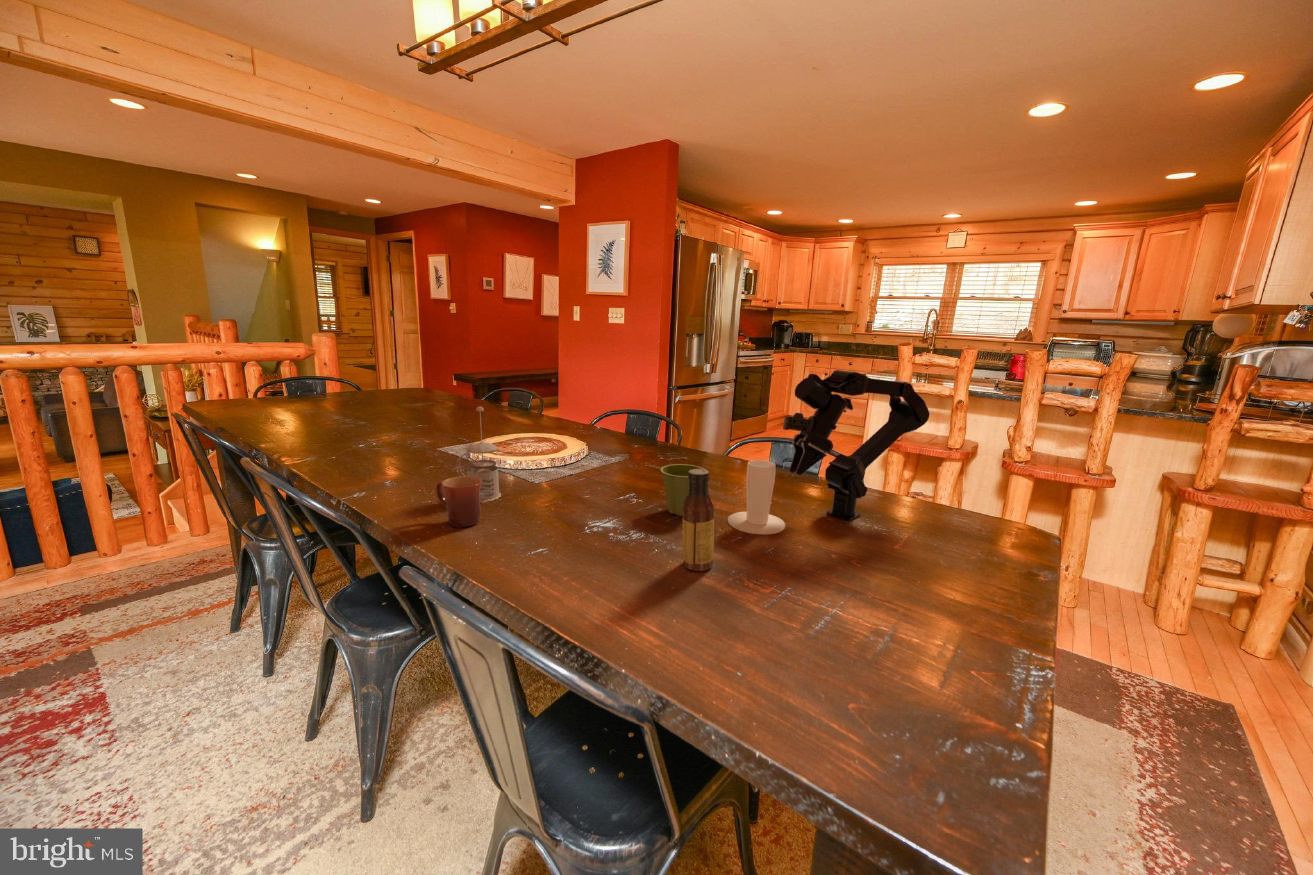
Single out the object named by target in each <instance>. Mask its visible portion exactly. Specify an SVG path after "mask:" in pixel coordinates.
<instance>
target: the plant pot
mask: <svg viewBox="0 0 1313 875" xmlns="http://www.w3.org/2000/svg"><path fill="white" fill-rule="evenodd" d="M692 469H704V470H706V469H705V468H704V467H702V466H697V465H693V464H685V463H684V464H683V463H676V464H675V463H674V464H668V465H664V466H661V468H660V472H661V473H662V478H663V481H664V487H665V488H664V489H665V496H666V497H665V498H666V506H667V511H668V513H669V514H671V515H673V514H675V515H677V516H679V517H683V502H684V500H685V498H686V497H687V495H688V494H689V478H688V472H689V470H692Z"/></svg>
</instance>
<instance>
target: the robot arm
mask: <svg viewBox="0 0 1313 875" xmlns="http://www.w3.org/2000/svg"><path fill="white" fill-rule="evenodd" d="M864 394H877V395H886V396H889V401H888V402H889V403H888V405H889V407H890V409H891V410H890V411H889V414H888V421H886V422H885V424H883V425H882V426H881V427H880V428H879V429H878V430H877V431H876V432H874V433H873V434H872V435H871V436H870V437H869V438H868V439H867V440H866V441H864V442H863V443H862V444H861V445H860V446H859V447H858V448H857V449H856V450H855V451H854V452H852V453H851V454H850V455H846V454H843V453H839V454H838V455H836V457H835V458H834V459H833V460H832V461H829V462H828V464H829V465H828V466H827V467H826V468H825V474H824V475H825V477H824V478H825V480H826V484H827V489H830V490H833V491H834V492H833V501H832V508H831V509H829V510H826V514H827V515H829V516H830V515H831V516H834V517H837V518H840V519H843V520H847V521H851V520H853V519H856V518H858V517H860V516H861V512H858V511H856V510H857V502H858V499H861V498H862V497H865V496H866V495H867V492H868V487H867V486H866V484H865V483H864V482H863V480H864V479H865V475H866V470H867V468H868V467H869V466H870V465H872V464H873V463H874V461H875V460H877V459H878V458H879V457H881V455H883V453H885V451H887V449H889V448H890V447H891V446H892V445H893V444H894V443H895V442H897V440H898V439H899V438H900V437H902V436H903V435H904V434H907V433H911V432H913V431H917V430H918V429H920V428H921V427H922V426H924V425H926V423H927V422H928V421H929V419H930V411H929V408H928V407H927V403H926V401H925V400H924V399H923V398H922V397H921V396H920V395H919V394H918V393H917V392H916V391H915V389H914V386H913V385H912V384H911V383H910V382H908V381H904V380H903V381H901V380H896V379H895V380H888V379H887V380H886V379H881V378H880V379H879V378H871V377H868V375H865V374H863V373H860V372H858V371H852V370H851V371H849V370H845V369H844V370H842V369H835V370H834V371H833V372H832V373H831V375H829V376H827V377H826V378H823V379H821V377H820V376H819V375H817V374H816V373H809V375H808V376H807V377H805V378H803V379H802V380H801V381H800V382H799V383H797V385H796V386H795V389H794V396H795V397H796V398H797V399H798V400H800V401H801V402H803V404H804V403H805V404H806V405H807V406H809V407H810V408H812V409H813V410H815V411H814V413H813V415H811V416H810V415H809V417H808V418H804V413H801V412H795V413H794V414H793V415H786V416H784V419H783V425H782V426H783V427H782V430H785V431H789V430H790V431H795V432H796V431H797V432H799V433H797V434H794V436H793V438H792V439H791V445H792V447H793V450H794V452H793V456H792V459H791V462H790V463H791V464H790V466H789V472H790V473H791V474H792V473H793V474H794V473H795V474H796V475H798V476H801V475H802V474H803V473H805V472H806V471H808V470H809V469H810V468H811V467H813V466H815V464H817V463H818V462H819V461H821V460H822V459H824V458H825V457H827V455H829V454H831V452H832V450H833V448H834V444H833V441H832V440H830V439H829V438H830V436H831V434H832V432H833V431H835V430H836V429H837V427H838V426H837V423H838V421H840V418H841V417H842V415H843V414H844V413H843V412H844V411H845V409H846V410H848V411H849V410H850V411H853V410H854V406H853V404H852V399H851V398H848V397H842V396H841V395H846V396H851V397H856V396H863V395H864ZM901 398H902V399H903V400H902V399H901Z"/></svg>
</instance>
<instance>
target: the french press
mask: <svg viewBox="0 0 1313 875" xmlns="http://www.w3.org/2000/svg"><path fill="white" fill-rule="evenodd" d="M475 411H476V412H479V421H480V422H479V423H480V424H479V425H480V426H479V427H480V428H482V415H481V414H482V413H481V412H484V407H483V406H477V407H476V409H475ZM482 430H483V429H480V442H475V443H473V444H471V445H468V446H467V447H466V448H465V451H466V452H465V453H463V454H462V455H460V456H459V457H458V459H457V461H456V463H455V464H456V471H457V474H458V475H459V477H461V476H466V475H465V474H464V473H463V471H462V469H461V460H462V458H463V457H464V456H466V459H467V460H468V459H470V454H478V455H479V454H481V459H476V460H473V461H469V462H468V466H469V468H468V470H467V476H473V477H478V478H480V479H482V484H481V487H480V493H479V497H480V502H487V501H493V500H495V499H498V498H499V497H501V494H502V493H501V491H500V487H499V486H500V485H499V484H500V483H499V468H498V466H497V461H495V460H493V459H484V454H491V453H495V452H497V450H498V449H499V448H498V446H497V445H495V444H493V443H490V442H484V441H483V434H482V432H483V431H482ZM458 466H459V468H458ZM482 469H485V470H482ZM489 470H490V471H489ZM459 471H460V472H459ZM478 471H479V472H478ZM460 473H461V474H462V475H461V474H460Z"/></svg>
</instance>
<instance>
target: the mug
mask: <svg viewBox="0 0 1313 875" xmlns="http://www.w3.org/2000/svg"><path fill="white" fill-rule="evenodd" d="M482 480H483V479H481V478H478V477H473V476H468V475H467V476H466V475H465V476H464V475H461V476H455V477H451V478H446V479H445V480H440V481H438V482H436V485H435V492H436V496H437V499H438V501H439V502H440V503H441V504H442V505H443V506H444V507H445V508H446V517H447V518H446V519H447V522H448V524H449V525H450V526H451V527H453V528H458V527H459V528H461V529H462V528H463V527H464V528H470V527H472V526H475V525H477V524H478V523H479V522H480V520H481V517H482V512H481V511H482V510H481V504H480V497H479V493H480V487H481V485H482ZM459 528H458V529H459Z"/></svg>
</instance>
